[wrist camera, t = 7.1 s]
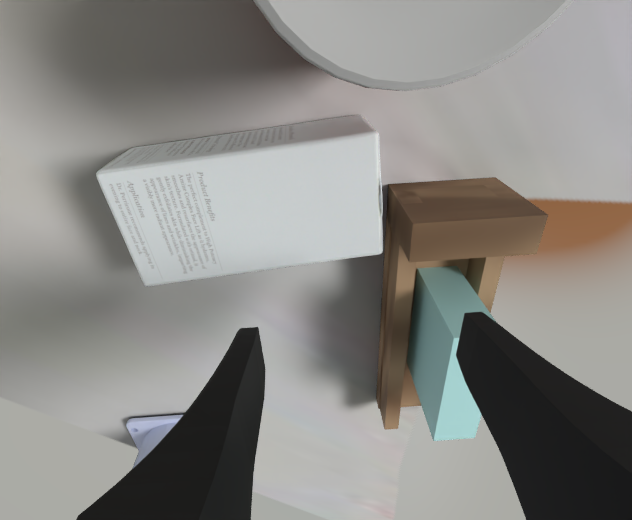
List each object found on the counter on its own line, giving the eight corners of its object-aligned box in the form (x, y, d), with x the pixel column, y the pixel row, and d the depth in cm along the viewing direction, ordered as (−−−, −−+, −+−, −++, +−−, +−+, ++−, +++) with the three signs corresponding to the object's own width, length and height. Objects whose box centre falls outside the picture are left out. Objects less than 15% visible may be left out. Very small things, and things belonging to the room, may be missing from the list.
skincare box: (163, 247, 22) (367, 220, 22) (138, 292, 18) (385, 260, 18) (124, 141, 19) (363, 111, 19) (83, 169, 15) (384, 131, 15)
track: (449, 392, 30) (475, 451, 26) (376, 397, 30) (389, 458, 26) (495, 177, 21) (548, 215, 16) (388, 184, 20) (413, 223, 16)
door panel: (439, 359, 26) (474, 437, 21) (406, 362, 26) (433, 440, 21) (456, 265, 22) (505, 334, 17) (417, 268, 22) (453, 338, 17)
